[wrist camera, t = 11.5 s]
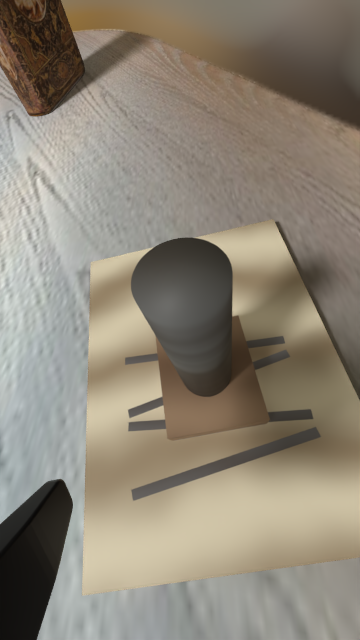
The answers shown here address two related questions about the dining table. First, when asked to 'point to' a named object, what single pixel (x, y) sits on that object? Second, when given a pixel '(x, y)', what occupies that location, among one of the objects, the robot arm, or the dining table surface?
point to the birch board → (218, 438)
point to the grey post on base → (197, 339)
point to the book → (38, 53)
